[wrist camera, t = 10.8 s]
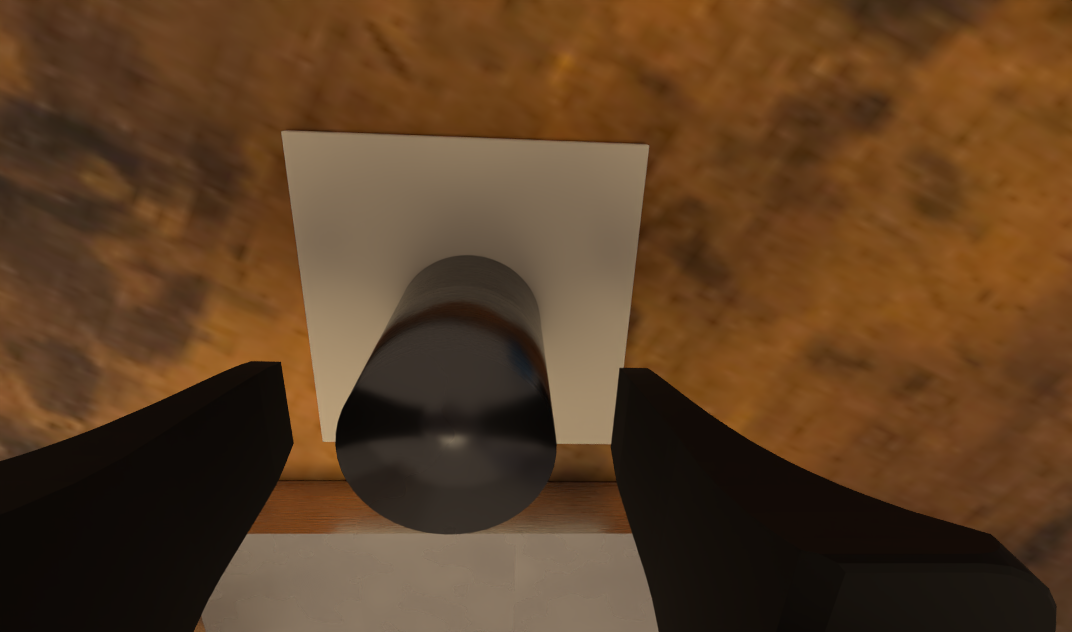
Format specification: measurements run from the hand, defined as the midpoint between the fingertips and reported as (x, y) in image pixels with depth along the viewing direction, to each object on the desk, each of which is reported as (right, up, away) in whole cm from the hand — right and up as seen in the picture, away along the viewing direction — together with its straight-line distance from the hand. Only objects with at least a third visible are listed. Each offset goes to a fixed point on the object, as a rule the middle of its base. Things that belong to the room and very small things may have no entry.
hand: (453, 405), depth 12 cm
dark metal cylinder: (0, +2, +5) cm, 6 cm away
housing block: (-2, -12, +11) cm, 16 cm away
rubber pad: (0, +2, +5) cm, 6 cm away
